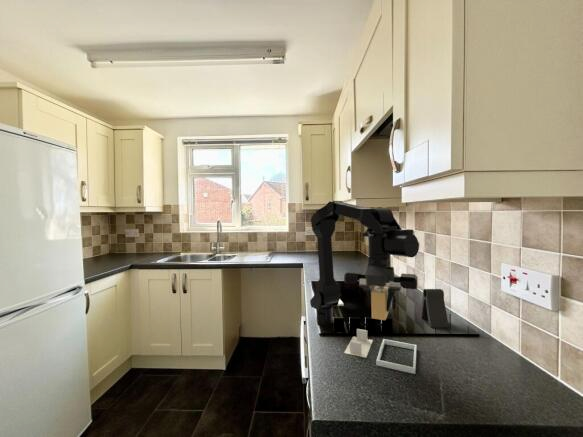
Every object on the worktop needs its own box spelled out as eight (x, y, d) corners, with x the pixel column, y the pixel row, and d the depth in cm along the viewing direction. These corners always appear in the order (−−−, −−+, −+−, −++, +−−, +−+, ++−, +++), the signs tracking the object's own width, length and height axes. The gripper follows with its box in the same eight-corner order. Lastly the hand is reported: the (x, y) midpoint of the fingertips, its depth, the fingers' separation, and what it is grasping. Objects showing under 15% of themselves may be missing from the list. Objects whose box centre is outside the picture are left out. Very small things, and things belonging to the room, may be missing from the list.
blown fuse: (376, 310, 78) (375, 283, 78) (388, 311, 77) (388, 284, 77) (371, 318, 72) (371, 288, 72) (385, 320, 71) (384, 290, 71)
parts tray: (383, 345, 80) (383, 338, 80) (416, 352, 76) (416, 345, 76) (376, 368, 69) (376, 360, 69) (415, 377, 65) (415, 368, 65)
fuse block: (353, 338, 85) (353, 326, 85) (372, 342, 82) (372, 330, 82) (343, 355, 75) (343, 341, 75) (366, 360, 72) (366, 346, 72)
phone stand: (419, 318, 101) (419, 286, 101) (435, 318, 101) (435, 286, 101) (431, 328, 92) (431, 293, 92) (448, 328, 92) (448, 293, 92)
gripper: (337, 255, 72) (339, 314, 71) (415, 259, 63) (416, 326, 63) (348, 251, 81) (349, 302, 81) (417, 253, 73) (418, 311, 73)
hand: (380, 310), depth 74 cm, fingers closed on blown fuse, 3 cm apart
